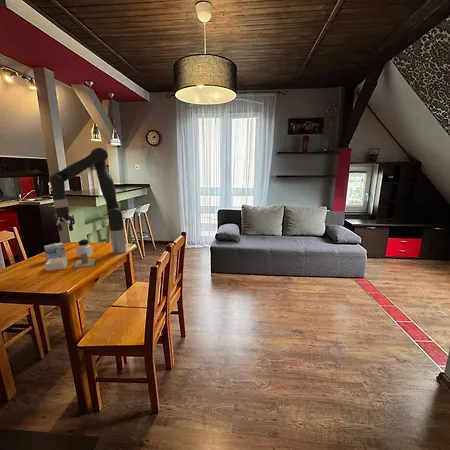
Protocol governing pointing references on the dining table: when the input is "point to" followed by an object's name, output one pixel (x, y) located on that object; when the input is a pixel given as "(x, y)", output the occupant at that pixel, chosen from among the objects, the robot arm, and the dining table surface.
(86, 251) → the medicine bottle
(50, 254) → the light bulb box
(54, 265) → the white open box
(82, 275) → the dining table surface
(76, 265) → the lid
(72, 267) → the mat
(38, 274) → the dining table surface
